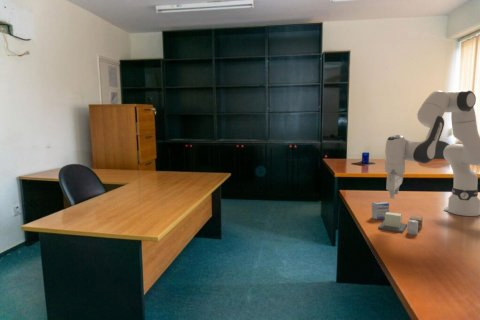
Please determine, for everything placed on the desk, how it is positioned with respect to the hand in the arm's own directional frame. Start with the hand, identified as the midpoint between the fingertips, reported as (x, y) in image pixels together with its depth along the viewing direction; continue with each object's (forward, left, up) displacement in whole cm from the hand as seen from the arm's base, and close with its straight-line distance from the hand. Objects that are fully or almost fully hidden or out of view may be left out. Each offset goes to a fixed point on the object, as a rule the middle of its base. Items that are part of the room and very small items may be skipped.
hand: (394, 195), depth 162 cm
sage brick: (0, 0, -15) cm, 15 cm away
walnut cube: (-6, +9, -16) cm, 20 cm away
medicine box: (-13, -9, -17) cm, 23 cm away
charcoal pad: (0, 0, -16) cm, 16 cm away
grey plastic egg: (+4, +9, -16) cm, 19 cm away
